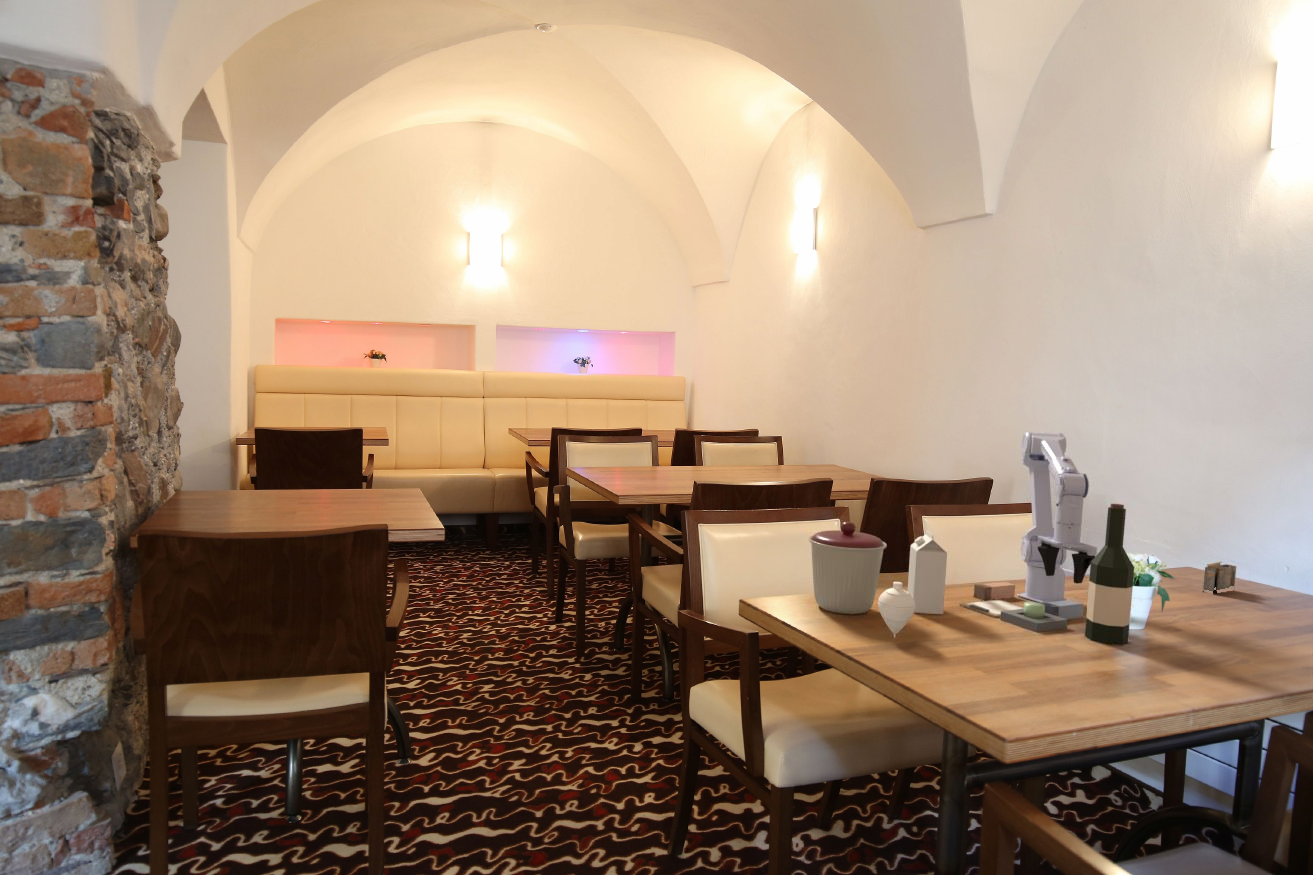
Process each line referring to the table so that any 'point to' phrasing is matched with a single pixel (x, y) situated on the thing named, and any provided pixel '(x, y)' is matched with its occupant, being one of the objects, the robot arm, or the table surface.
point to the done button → (1034, 610)
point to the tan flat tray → (991, 607)
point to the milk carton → (927, 575)
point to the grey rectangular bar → (1064, 609)
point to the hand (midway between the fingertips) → (1063, 579)
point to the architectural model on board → (1219, 576)
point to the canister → (846, 569)
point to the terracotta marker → (994, 590)
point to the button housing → (1033, 621)
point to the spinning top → (896, 607)
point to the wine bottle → (1110, 585)
